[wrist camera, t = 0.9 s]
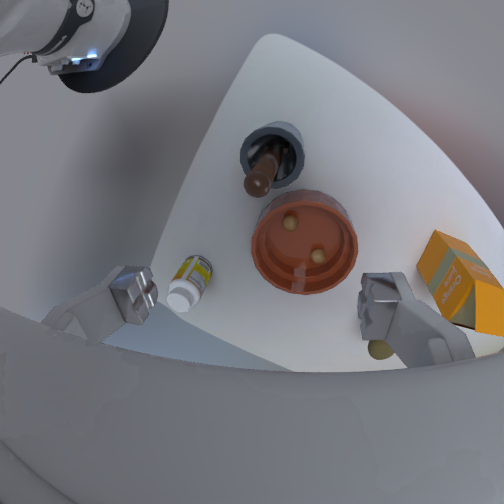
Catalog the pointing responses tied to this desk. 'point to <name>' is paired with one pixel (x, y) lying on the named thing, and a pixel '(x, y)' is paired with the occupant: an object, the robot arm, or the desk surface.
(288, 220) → the bead
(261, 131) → the crock
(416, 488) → the robot arm
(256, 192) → the stir paddle
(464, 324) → the orange juice
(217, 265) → the desk surface
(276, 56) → the desk surface
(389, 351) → the olive game pawn
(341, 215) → the bowl
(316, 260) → the bead
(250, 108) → the desk surface
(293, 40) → the desk surface
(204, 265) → the supplement bottle
